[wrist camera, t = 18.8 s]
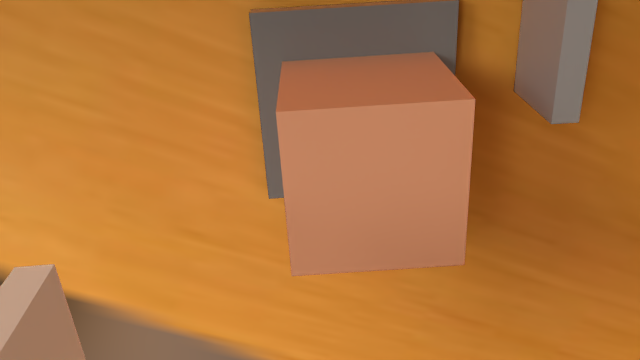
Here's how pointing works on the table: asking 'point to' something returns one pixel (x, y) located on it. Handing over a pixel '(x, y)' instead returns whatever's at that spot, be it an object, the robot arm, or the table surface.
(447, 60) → the coaster
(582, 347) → the table surface
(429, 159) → the block
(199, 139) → the table surface
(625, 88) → the table surface
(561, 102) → the chute
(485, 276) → the table surface
